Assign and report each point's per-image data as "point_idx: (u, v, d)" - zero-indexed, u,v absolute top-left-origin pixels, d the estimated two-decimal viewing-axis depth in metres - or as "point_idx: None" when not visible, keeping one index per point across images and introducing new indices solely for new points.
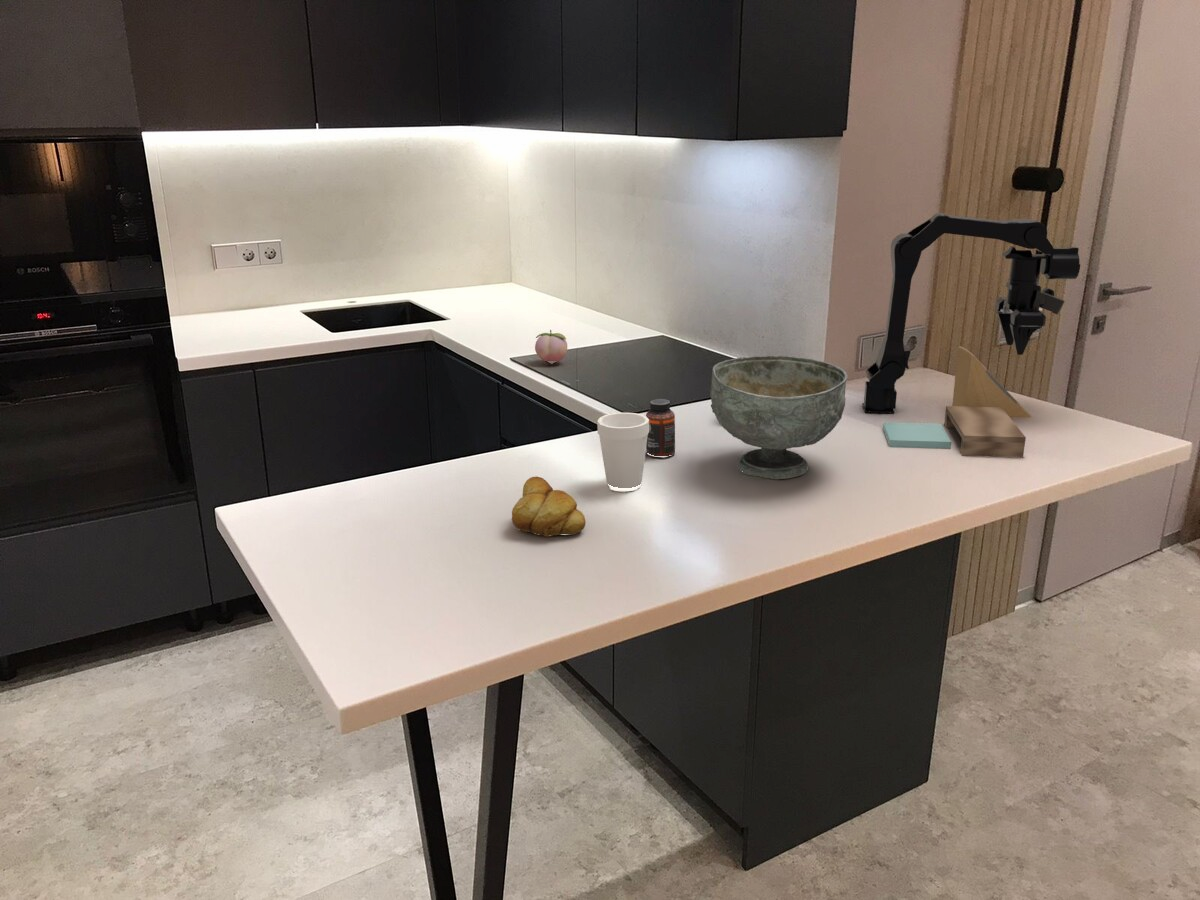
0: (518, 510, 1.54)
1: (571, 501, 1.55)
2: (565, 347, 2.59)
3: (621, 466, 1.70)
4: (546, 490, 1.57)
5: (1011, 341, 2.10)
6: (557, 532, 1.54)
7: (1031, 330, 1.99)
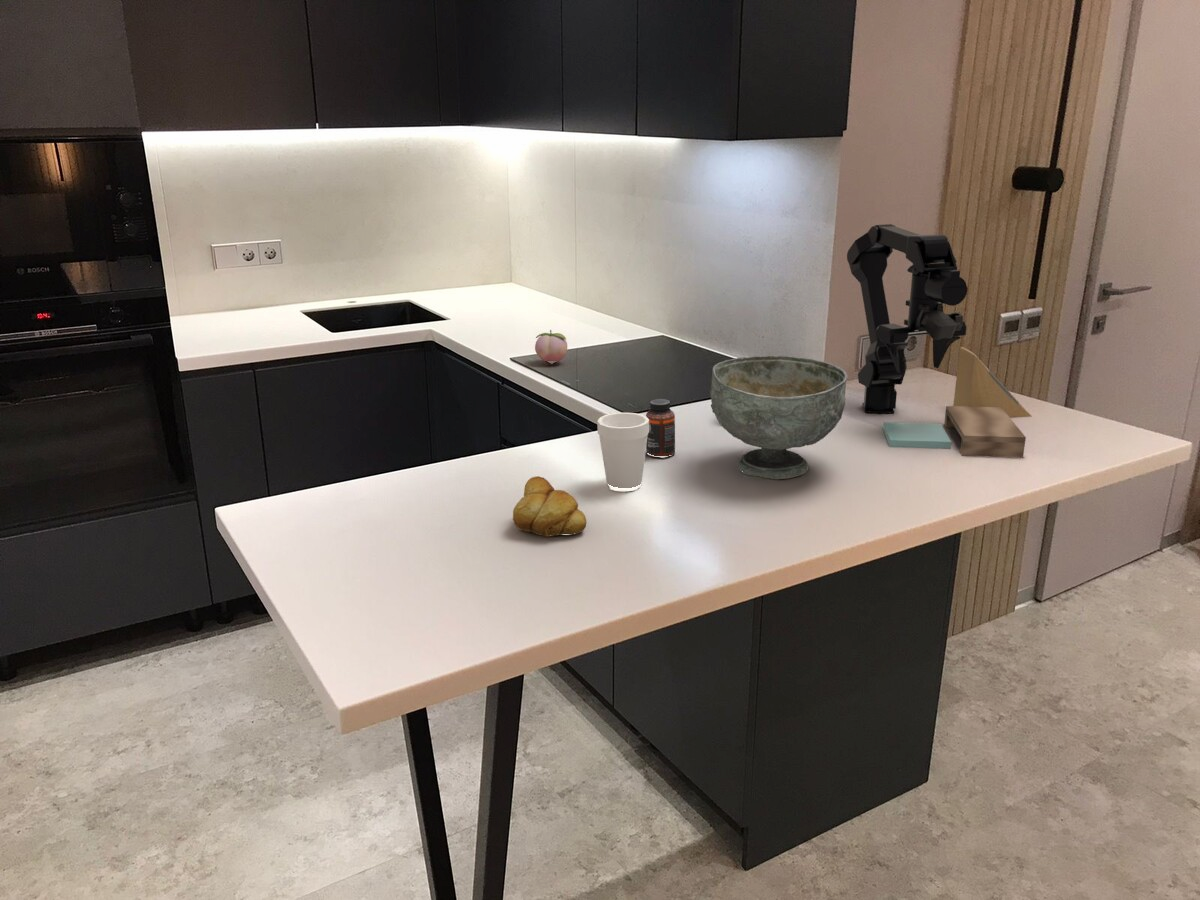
0: (519, 510, 1.54)
1: (572, 501, 1.54)
2: (565, 347, 2.59)
3: (621, 466, 1.70)
4: (548, 490, 1.57)
5: (936, 364, 1.99)
6: (558, 532, 1.54)
7: (897, 348, 1.93)
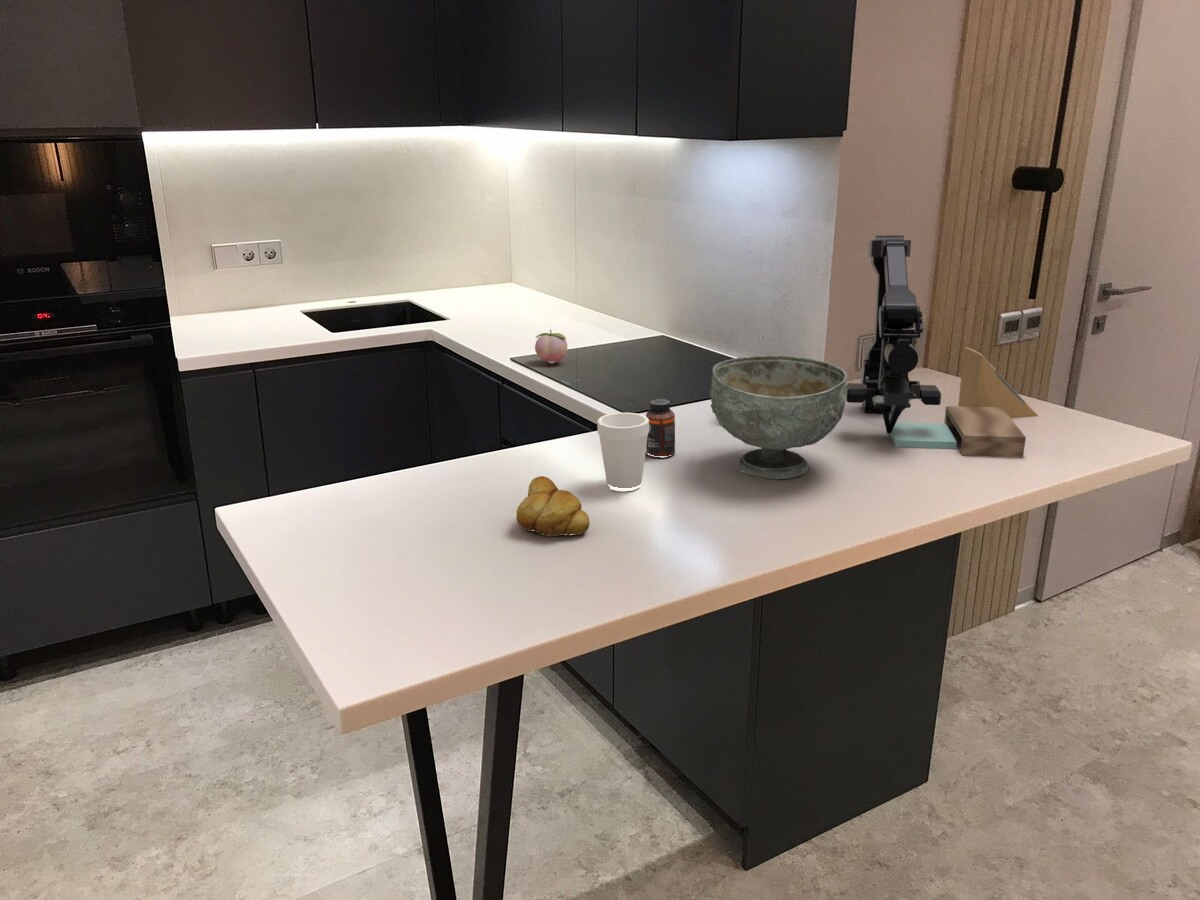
0: (522, 509, 1.54)
1: (575, 501, 1.54)
2: (565, 347, 2.59)
3: (621, 466, 1.70)
4: (551, 490, 1.57)
5: None
6: (561, 532, 1.54)
7: (881, 408, 1.95)
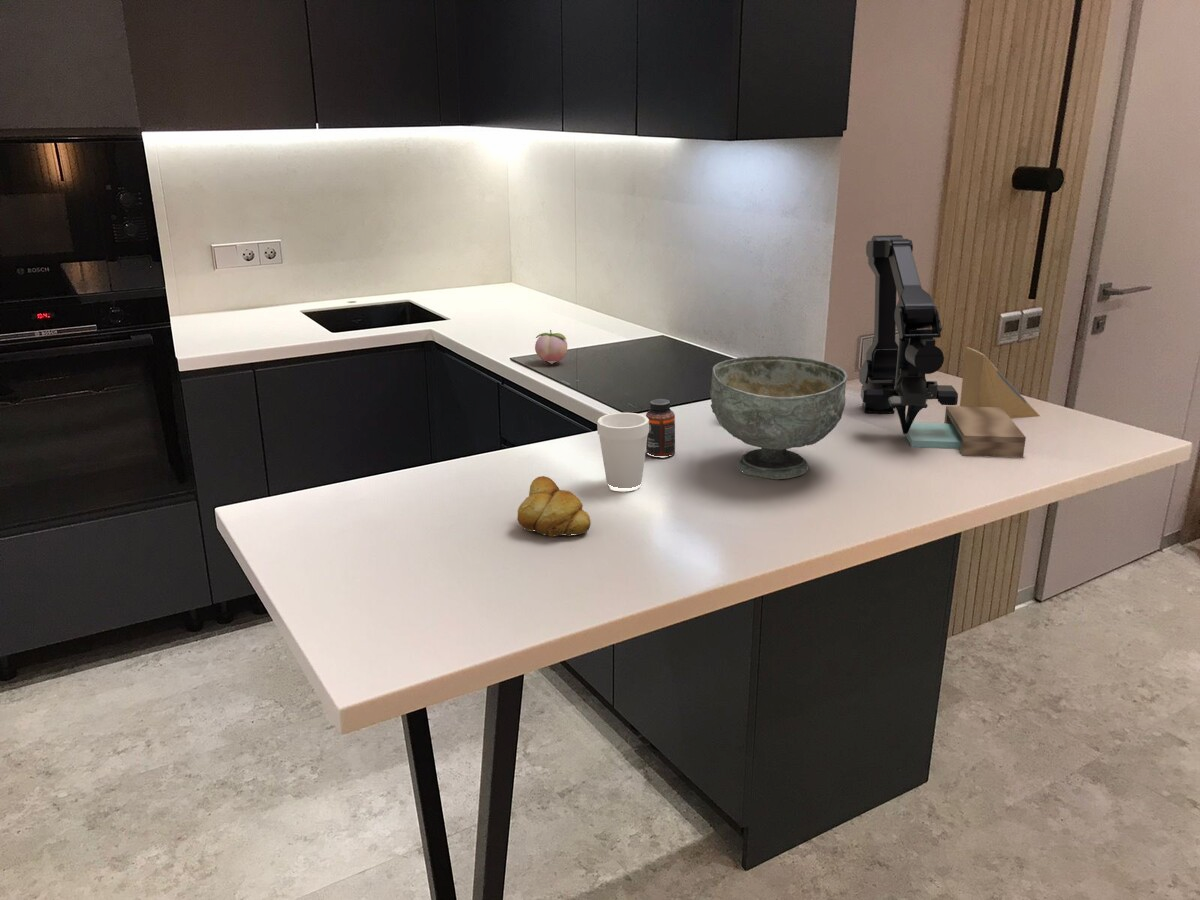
0: (523, 509, 1.55)
1: (576, 501, 1.54)
2: (565, 347, 2.59)
3: (621, 466, 1.70)
4: (553, 490, 1.57)
5: None
6: (561, 532, 1.54)
7: None
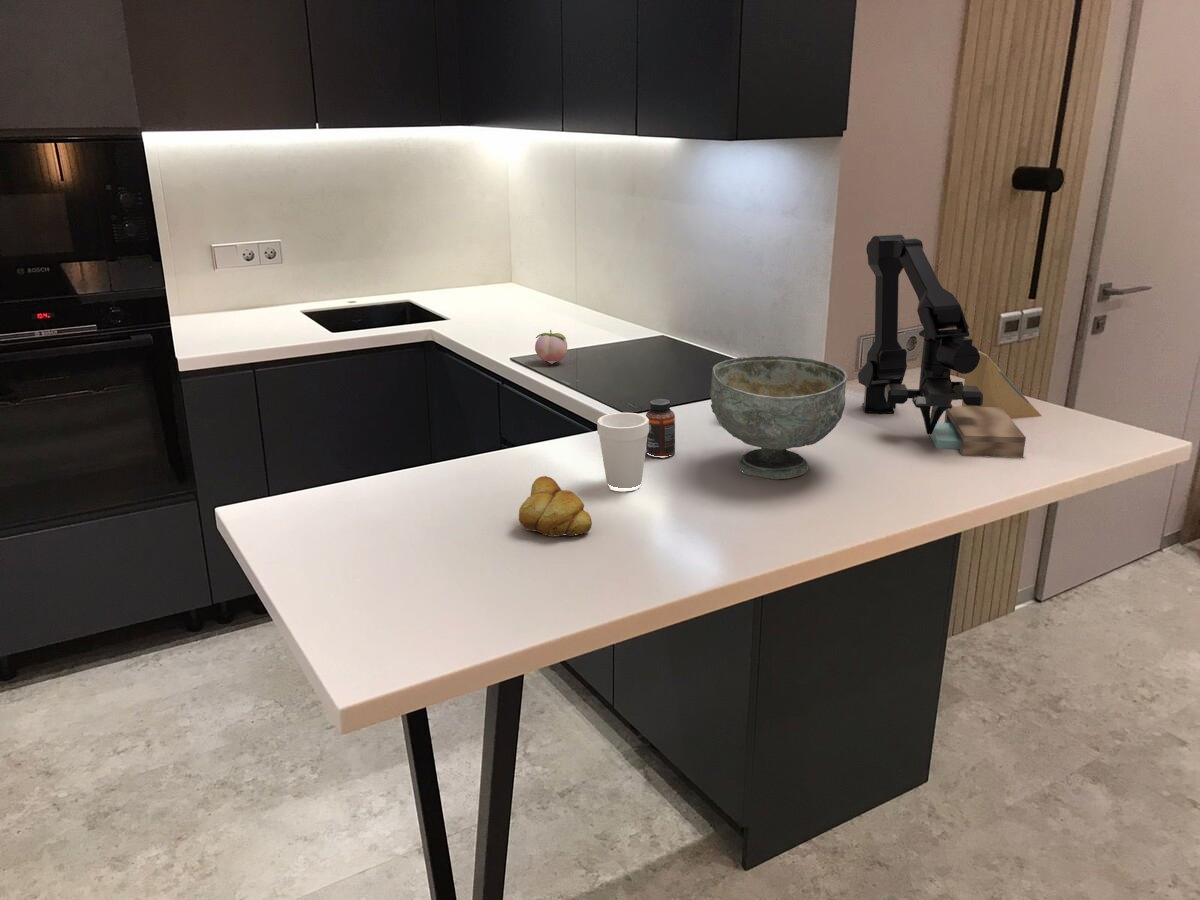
0: (524, 509, 1.55)
1: (577, 502, 1.54)
2: (565, 347, 2.59)
3: (621, 466, 1.70)
4: (554, 490, 1.57)
5: None
6: (562, 532, 1.54)
7: None
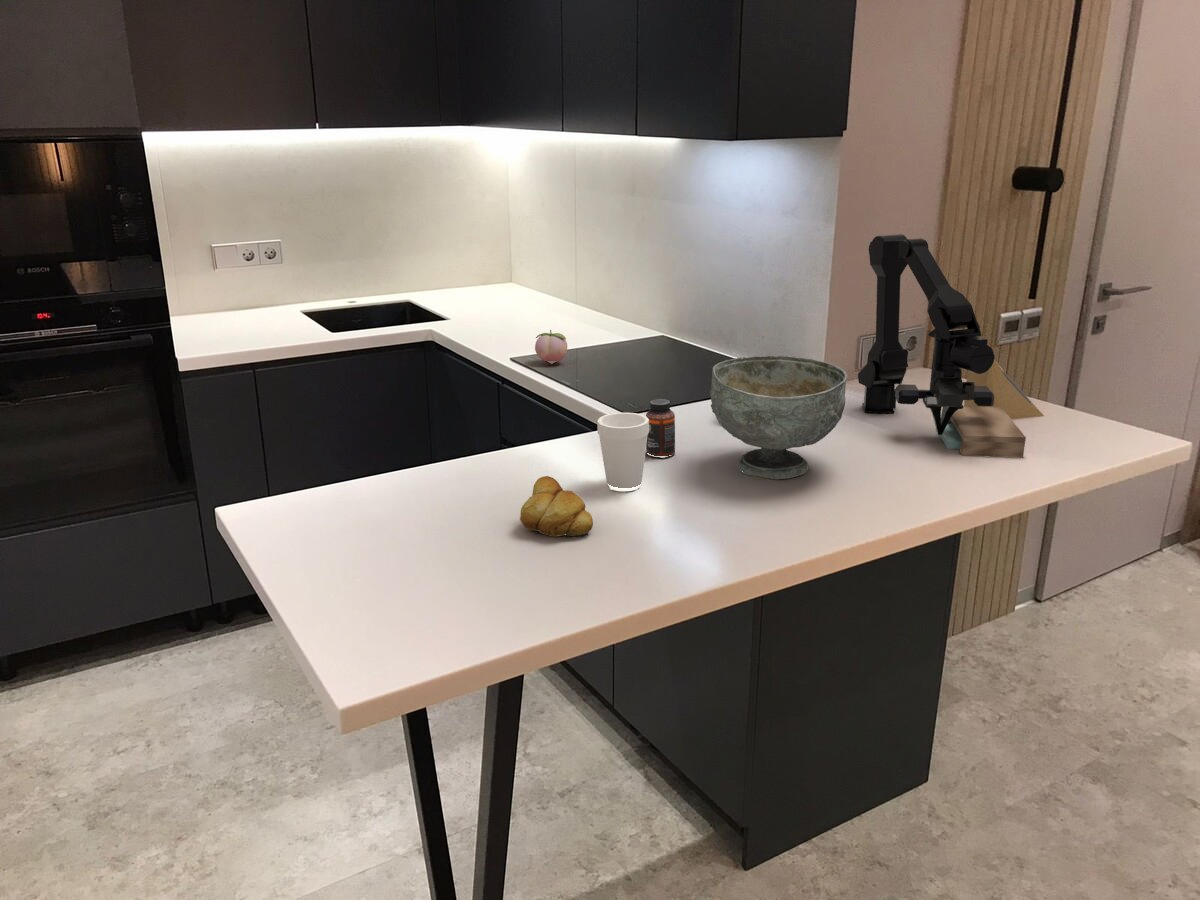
0: (526, 509, 1.55)
1: (579, 502, 1.54)
2: (565, 347, 2.59)
3: (621, 466, 1.70)
4: (556, 490, 1.57)
5: None
6: (564, 532, 1.54)
7: None
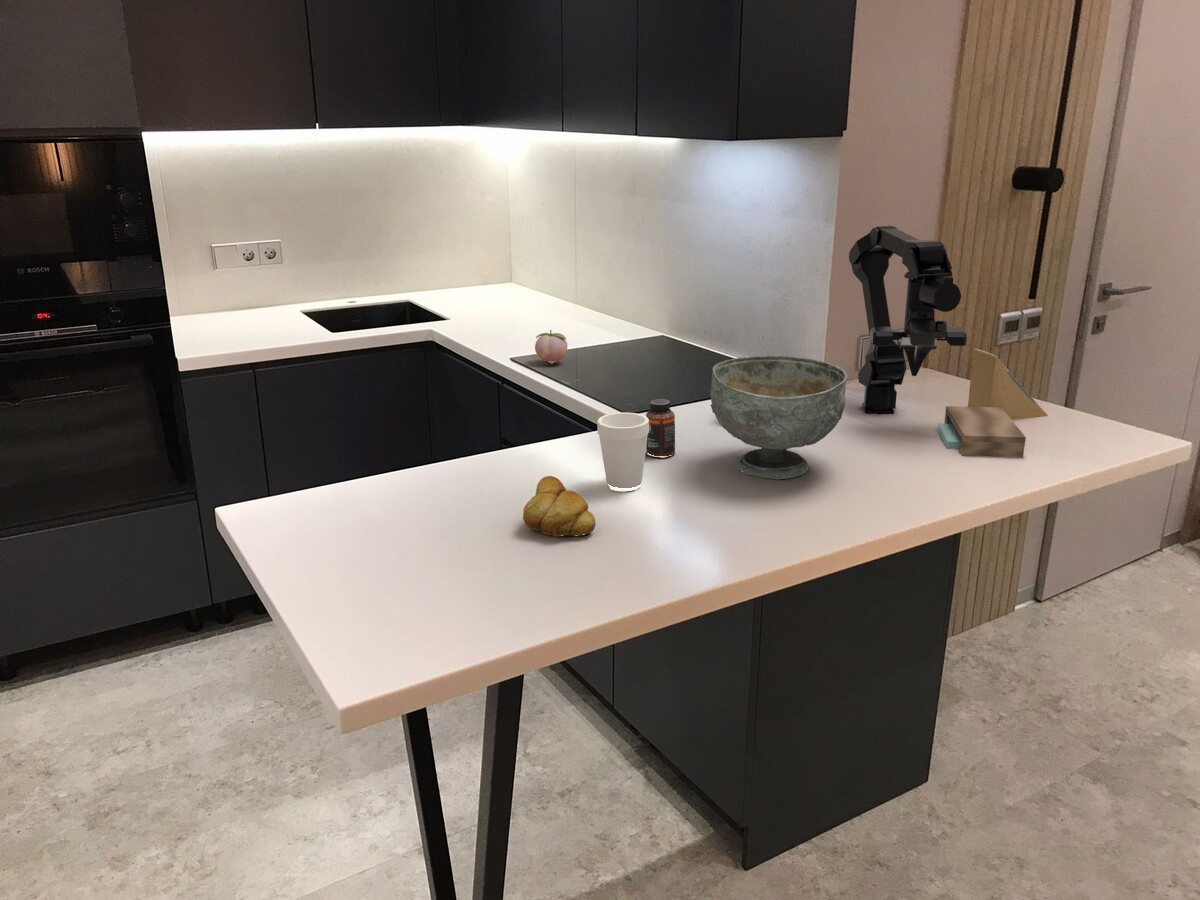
0: (528, 509, 1.55)
1: (581, 502, 1.54)
2: (565, 347, 2.59)
3: (621, 466, 1.70)
4: (559, 490, 1.57)
5: None
6: (566, 532, 1.54)
7: None
